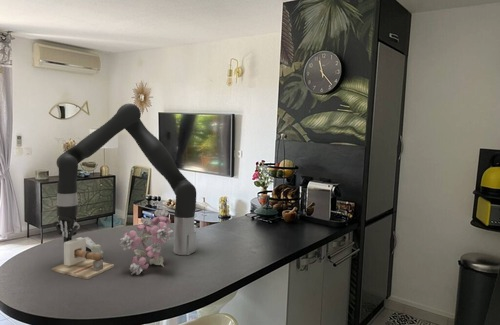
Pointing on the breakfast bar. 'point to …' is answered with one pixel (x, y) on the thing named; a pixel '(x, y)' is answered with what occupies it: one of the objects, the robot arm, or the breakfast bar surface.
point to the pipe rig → (85, 265)
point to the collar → (69, 250)
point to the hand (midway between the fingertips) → (67, 245)
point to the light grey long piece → (93, 246)
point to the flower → (152, 232)
